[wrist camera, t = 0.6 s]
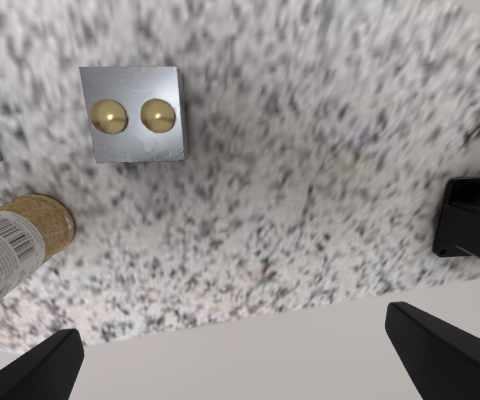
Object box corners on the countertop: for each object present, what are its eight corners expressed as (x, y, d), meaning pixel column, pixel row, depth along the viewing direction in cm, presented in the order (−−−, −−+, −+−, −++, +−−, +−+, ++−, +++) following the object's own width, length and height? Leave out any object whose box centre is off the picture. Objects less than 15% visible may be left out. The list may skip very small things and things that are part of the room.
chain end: (182, 74, 16) (175, 64, 13) (188, 155, 17) (183, 161, 15) (100, 75, 16) (74, 65, 13) (113, 157, 17) (93, 164, 14)
